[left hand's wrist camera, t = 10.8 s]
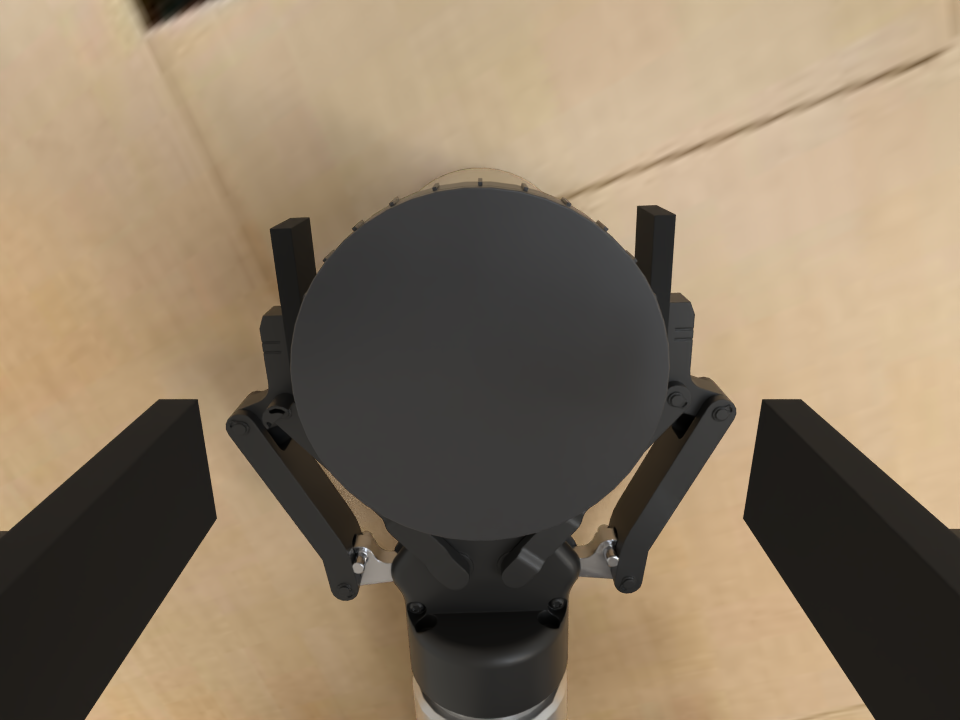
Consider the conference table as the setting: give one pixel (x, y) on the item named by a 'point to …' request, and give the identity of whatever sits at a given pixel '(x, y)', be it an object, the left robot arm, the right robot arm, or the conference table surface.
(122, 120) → the conference table surface
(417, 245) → the lid
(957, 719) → the left robot arm
